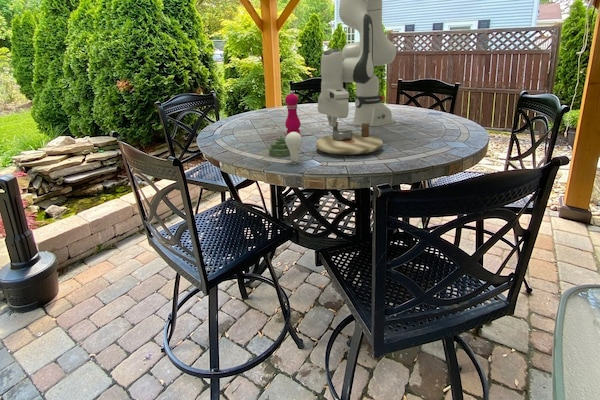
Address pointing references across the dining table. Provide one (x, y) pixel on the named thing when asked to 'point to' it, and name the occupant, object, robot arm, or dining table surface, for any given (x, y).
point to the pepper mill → (292, 114)
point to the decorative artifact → (279, 148)
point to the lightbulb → (293, 144)
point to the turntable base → (348, 154)
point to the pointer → (336, 126)
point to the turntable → (351, 143)
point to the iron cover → (342, 135)
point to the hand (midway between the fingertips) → (332, 126)
